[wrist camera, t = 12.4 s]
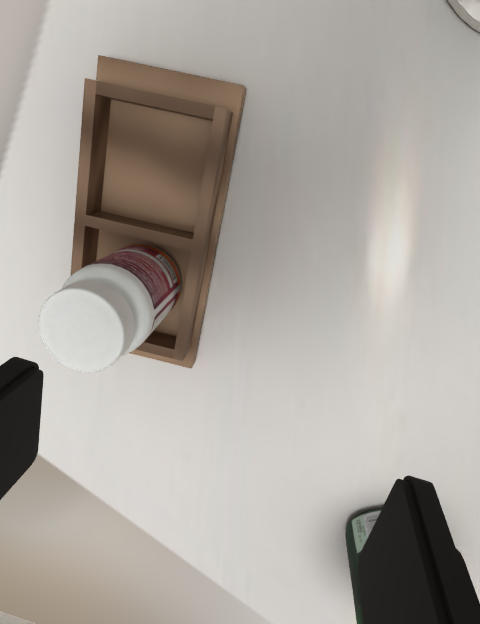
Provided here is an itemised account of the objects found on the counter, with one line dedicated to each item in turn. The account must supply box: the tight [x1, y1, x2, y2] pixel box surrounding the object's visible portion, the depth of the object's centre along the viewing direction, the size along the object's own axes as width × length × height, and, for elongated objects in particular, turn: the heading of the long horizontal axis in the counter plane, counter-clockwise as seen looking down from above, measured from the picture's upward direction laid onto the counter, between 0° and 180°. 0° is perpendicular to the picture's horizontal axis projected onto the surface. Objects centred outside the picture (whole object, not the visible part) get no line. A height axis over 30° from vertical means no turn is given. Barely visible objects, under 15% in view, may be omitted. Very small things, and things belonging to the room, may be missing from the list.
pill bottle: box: [39, 244, 181, 372], centre depth 30 cm, size 6×6×11 cm
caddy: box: [71, 55, 246, 368], centre depth 33 cm, size 22×10×4 cm, turn 168°
